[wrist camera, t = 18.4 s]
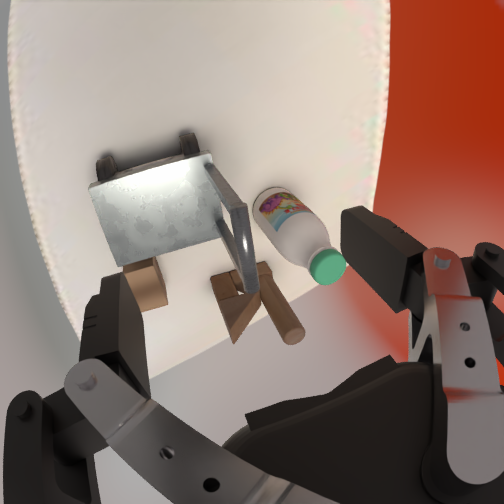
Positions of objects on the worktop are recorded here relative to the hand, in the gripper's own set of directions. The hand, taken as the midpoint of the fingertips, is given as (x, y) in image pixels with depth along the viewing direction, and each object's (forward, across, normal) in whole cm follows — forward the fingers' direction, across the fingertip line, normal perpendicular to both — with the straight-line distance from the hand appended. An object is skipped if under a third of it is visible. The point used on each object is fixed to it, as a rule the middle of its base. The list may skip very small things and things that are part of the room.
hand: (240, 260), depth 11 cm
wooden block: (+38, -6, +30) cm, 49 cm away
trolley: (+38, +4, +10) cm, 40 cm away
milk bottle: (+38, -14, +18) cm, 45 cm away
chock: (+38, +10, +23) cm, 46 cm away
